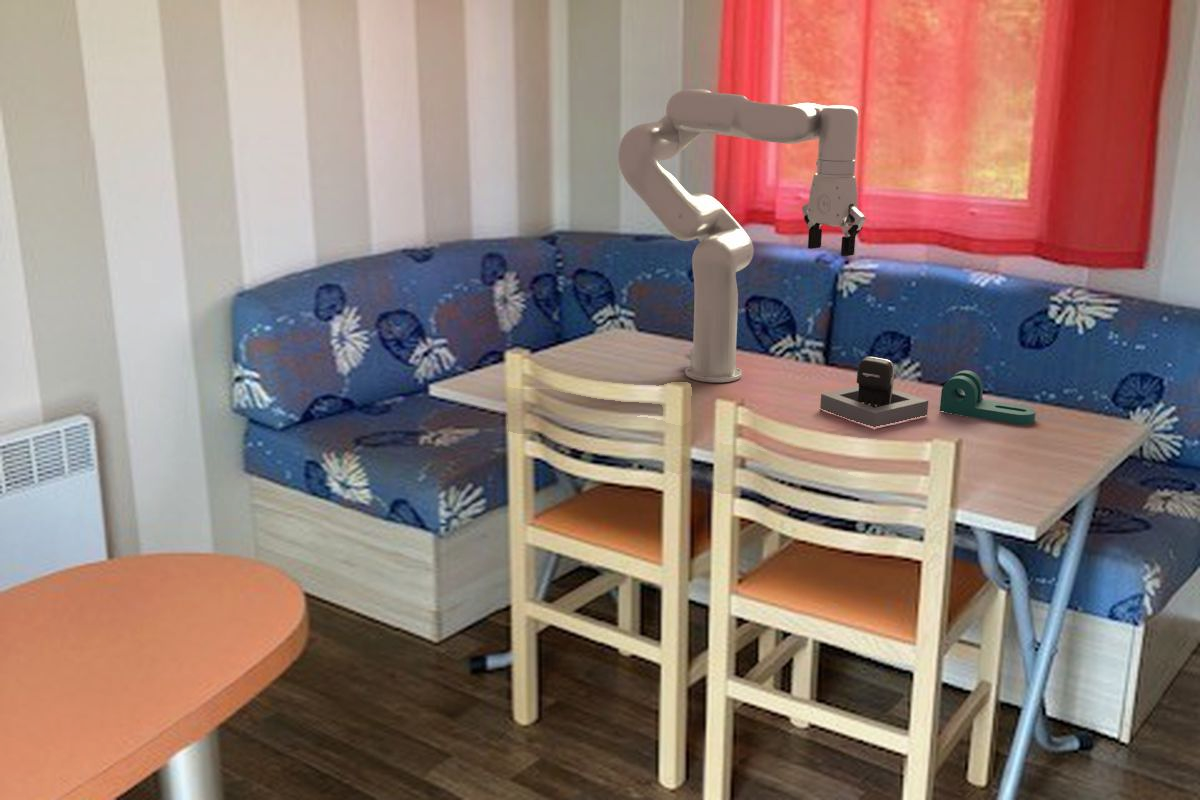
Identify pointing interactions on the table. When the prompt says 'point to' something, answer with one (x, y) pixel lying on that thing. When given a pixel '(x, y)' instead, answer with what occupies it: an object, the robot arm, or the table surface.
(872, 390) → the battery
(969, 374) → the bracket
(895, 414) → the frame
